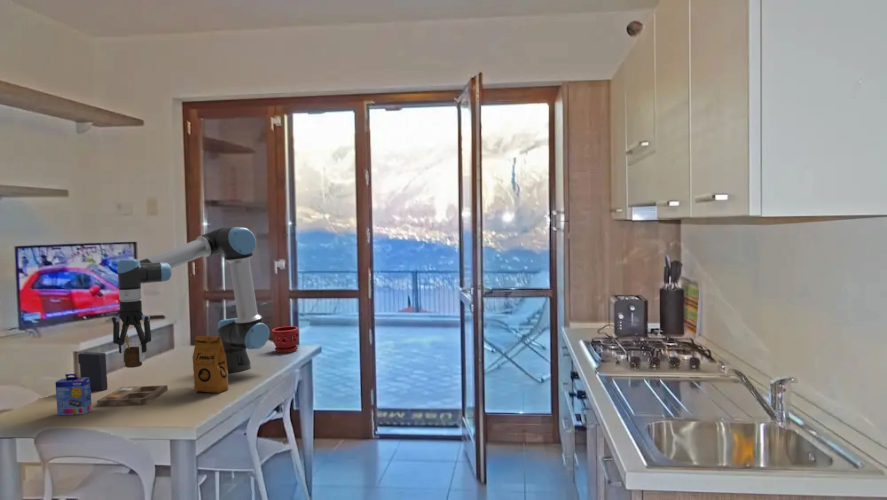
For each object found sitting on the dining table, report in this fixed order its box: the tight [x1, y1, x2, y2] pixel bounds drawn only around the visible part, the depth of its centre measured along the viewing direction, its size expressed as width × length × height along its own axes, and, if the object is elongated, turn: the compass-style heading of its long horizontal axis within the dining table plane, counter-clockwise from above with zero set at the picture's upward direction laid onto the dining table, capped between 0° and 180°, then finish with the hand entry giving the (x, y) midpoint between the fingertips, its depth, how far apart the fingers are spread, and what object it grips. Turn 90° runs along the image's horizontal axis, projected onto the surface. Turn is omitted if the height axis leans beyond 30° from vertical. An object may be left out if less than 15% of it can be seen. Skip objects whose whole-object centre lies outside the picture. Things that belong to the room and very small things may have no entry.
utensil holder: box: [124, 334, 143, 369], centre depth 246 cm, size 6×6×12 cm
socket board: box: [96, 384, 168, 407], centre depth 252 cm, size 18×20×2 cm
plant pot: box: [271, 325, 300, 354], centre depth 335 cm, size 13×13×12 cm
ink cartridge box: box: [54, 373, 93, 416], centre depth 233 cm, size 10×6×14 cm, turn 95°
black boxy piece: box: [77, 351, 109, 392], centre depth 267 cm, size 11×4×15 cm, turn 71°
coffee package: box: [192, 335, 229, 394], centre depth 258 cm, size 10×12×22 cm
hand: (133, 361), depth 246 cm, fingers closed on utensil holder, 6 cm apart
